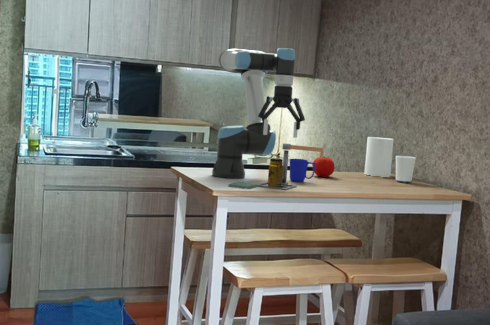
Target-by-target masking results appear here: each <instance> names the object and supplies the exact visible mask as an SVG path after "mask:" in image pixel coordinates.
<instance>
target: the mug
mask: <svg viewBox="0 0 490 325" xmlns="http://www.w3.org/2000/svg"><path fill="white" fill-rule="evenodd" d="M310 164H311V165H312V164H314V169H313V168H312V170H313V171H312V174H311V176H309V177H308V176H307V170H308V165H310ZM315 166H316V163H313V162H312V161H311V162H310V161H309V160H308V159H303V158H289V180H290V181H291V182H295V183H296V182H297V183H301V182H304V181H305V180H306V179H308V180H310V179H312V178H313V177H314V174H315V173H314V172H315Z"/></svg>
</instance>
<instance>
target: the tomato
mask: <svg viewBox="0 0 490 325" xmlns="http://www.w3.org/2000/svg"><path fill="white" fill-rule="evenodd" d="M313 163H316V166H315V172H314V174H315V175H316V176H318V177H321V178H322V177H323V178H328V177H330V176H332V175H333V173H334V172H335V163H334V160H333V159H332V158H331V157H328V156H323V157H320V156H318V157H316V158H315V159H314V160H313ZM311 165H312V166H311V167H312V170H313V169H314V164H311Z"/></svg>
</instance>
